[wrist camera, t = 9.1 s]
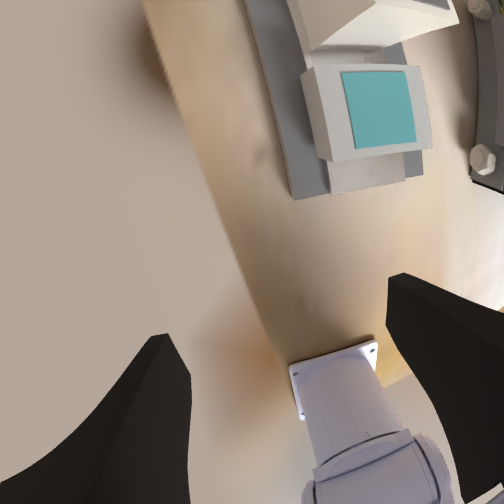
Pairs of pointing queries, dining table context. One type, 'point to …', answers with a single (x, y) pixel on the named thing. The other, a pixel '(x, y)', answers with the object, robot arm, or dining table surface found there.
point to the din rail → (356, 170)
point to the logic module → (372, 22)
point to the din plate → (299, 98)
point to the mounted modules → (366, 110)
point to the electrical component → (489, 94)
